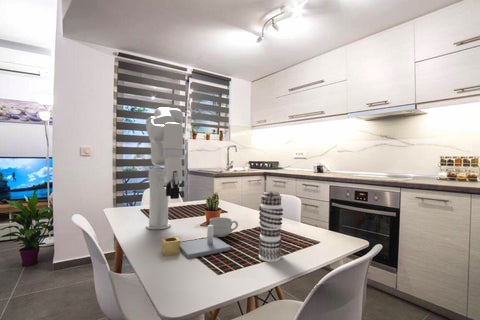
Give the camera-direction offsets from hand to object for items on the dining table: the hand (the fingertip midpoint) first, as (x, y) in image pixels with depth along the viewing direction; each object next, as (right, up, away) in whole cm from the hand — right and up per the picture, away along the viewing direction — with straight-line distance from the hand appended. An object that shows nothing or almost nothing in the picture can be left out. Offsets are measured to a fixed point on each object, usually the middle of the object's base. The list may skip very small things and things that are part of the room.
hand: (172, 197), depth 96 cm
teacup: (+19, -22, +21) cm, 36 cm away
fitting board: (+12, -22, +4) cm, 25 cm away
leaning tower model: (+38, -23, -3) cm, 45 cm away
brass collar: (0, -21, -1) cm, 22 cm away
